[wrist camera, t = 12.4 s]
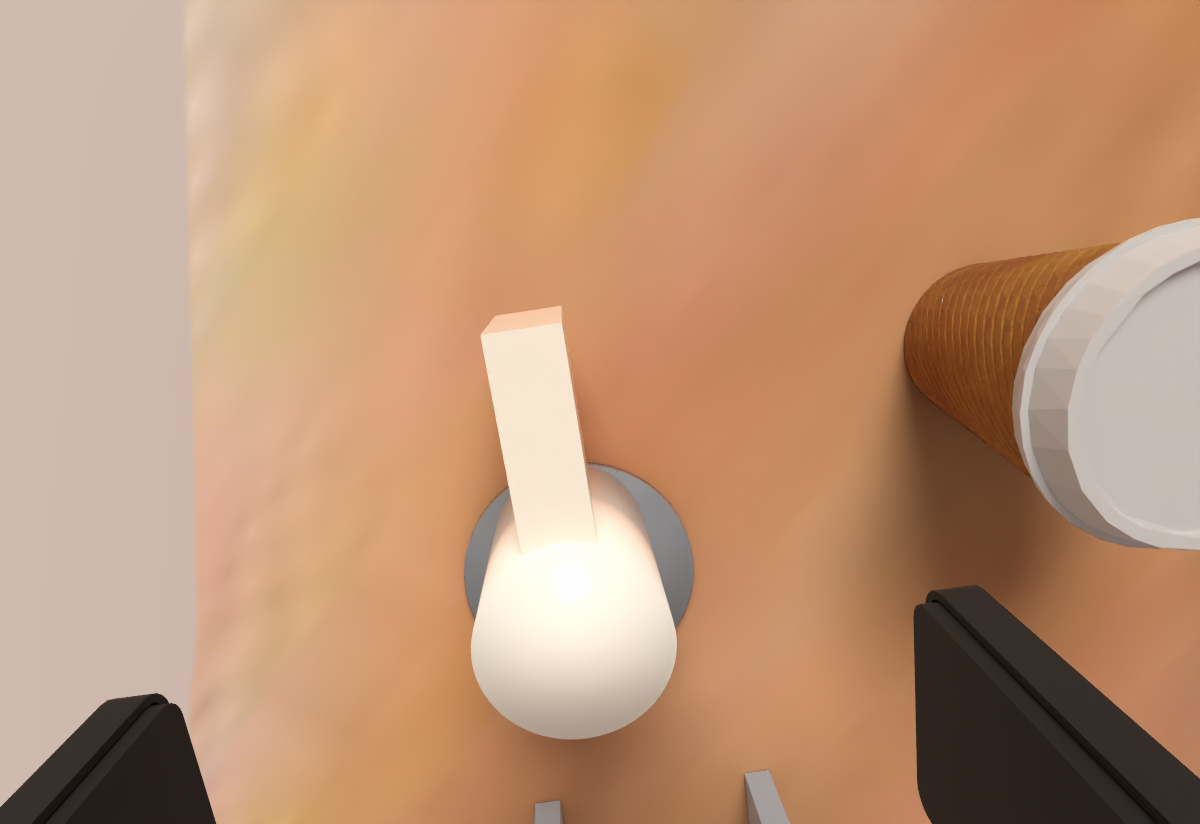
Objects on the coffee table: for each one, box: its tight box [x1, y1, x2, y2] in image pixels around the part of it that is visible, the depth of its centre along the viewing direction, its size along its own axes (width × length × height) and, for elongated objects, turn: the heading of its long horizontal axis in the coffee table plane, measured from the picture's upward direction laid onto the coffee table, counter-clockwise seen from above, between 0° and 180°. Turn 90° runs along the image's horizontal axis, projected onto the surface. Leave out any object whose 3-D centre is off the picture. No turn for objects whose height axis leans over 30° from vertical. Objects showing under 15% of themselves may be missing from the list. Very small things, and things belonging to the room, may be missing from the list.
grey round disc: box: [464, 463, 694, 627], centre depth 32 cm, size 10×10×1 cm
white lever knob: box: [471, 306, 677, 739], centre depth 26 cm, size 13×6×9 cm, turn 8°
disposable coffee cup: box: [905, 218, 1200, 550], centre depth 25 cm, size 10×10×12 cm
